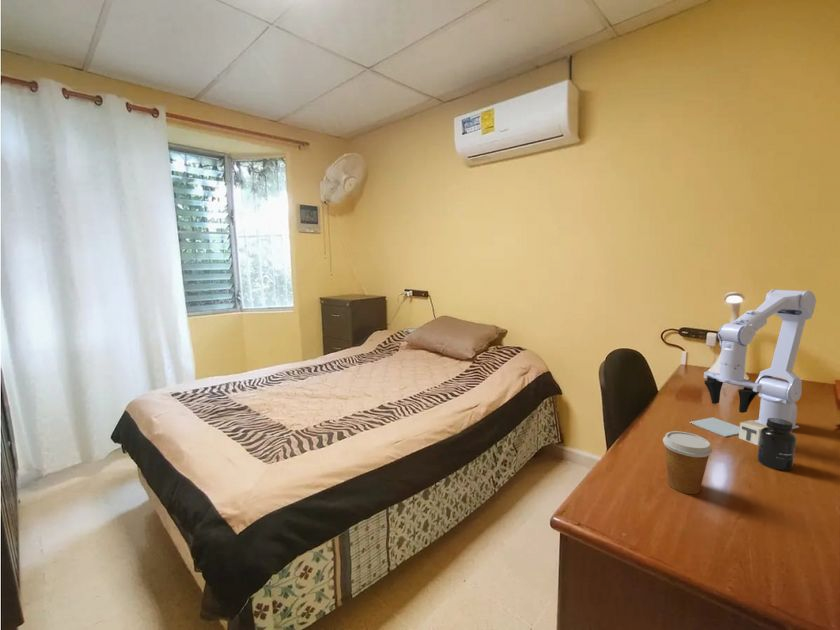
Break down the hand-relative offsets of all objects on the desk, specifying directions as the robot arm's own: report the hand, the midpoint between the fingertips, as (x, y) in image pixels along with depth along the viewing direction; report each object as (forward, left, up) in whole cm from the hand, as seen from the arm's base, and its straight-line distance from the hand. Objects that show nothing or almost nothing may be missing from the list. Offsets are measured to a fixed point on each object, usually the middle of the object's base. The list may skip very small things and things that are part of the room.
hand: (728, 407), depth 113 cm
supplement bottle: (+5, +15, -10) cm, 19 cm away
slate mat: (-5, -6, -9) cm, 12 cm away
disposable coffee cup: (+37, +14, -10) cm, 41 cm away
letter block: (-5, +4, -10) cm, 12 cm away
